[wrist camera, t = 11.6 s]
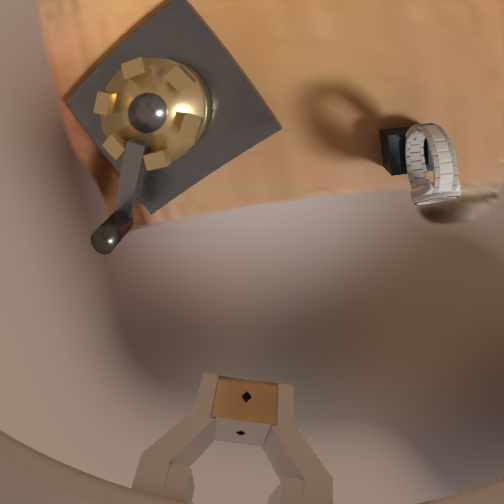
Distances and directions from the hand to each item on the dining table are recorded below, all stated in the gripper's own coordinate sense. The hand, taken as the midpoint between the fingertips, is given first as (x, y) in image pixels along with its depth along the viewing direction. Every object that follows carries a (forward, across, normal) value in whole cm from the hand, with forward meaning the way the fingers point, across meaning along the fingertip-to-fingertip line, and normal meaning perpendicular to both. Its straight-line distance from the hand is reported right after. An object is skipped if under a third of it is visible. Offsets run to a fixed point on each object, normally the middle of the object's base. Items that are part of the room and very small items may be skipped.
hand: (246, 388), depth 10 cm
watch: (+28, -14, -4) cm, 32 cm away
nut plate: (+28, +12, -4) cm, 31 cm away
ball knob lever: (+26, +13, -1) cm, 29 cm away
